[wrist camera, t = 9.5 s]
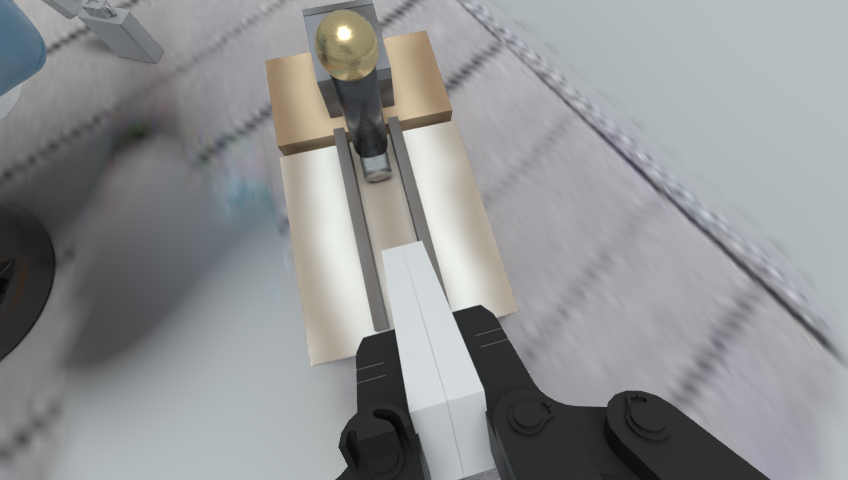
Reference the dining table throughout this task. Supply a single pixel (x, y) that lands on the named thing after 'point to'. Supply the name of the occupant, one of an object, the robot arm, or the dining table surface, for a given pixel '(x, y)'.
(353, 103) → the bolt
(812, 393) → the dining table surface
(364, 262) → the door and jamb
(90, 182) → the dining table surface
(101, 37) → the lighter
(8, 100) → the teardrop
